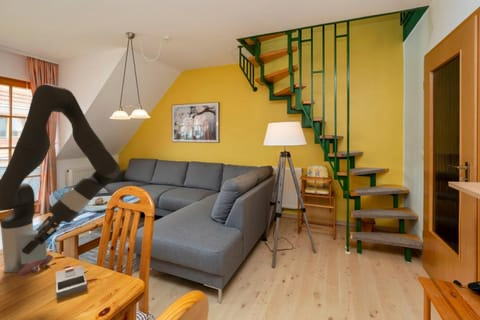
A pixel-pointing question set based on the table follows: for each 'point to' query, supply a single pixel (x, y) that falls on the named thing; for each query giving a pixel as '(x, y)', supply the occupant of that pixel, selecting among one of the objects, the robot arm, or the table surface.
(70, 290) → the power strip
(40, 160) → the robot arm
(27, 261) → the block
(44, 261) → the pink curved toy
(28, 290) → the table surface
